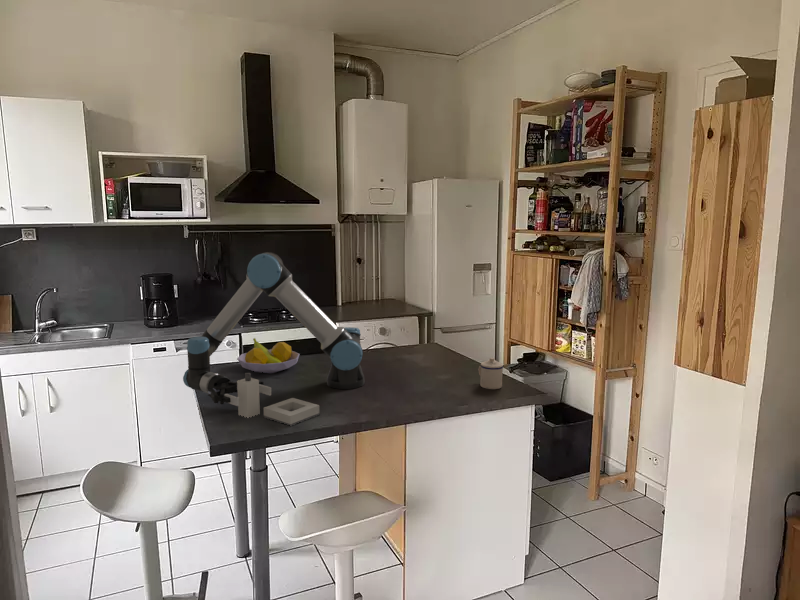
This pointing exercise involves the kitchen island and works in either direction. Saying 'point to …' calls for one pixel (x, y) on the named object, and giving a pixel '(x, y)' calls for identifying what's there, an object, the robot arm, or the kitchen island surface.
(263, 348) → the fruit bowl
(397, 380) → the kitchen island surface
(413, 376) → the kitchen island surface
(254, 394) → the plug
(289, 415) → the socket
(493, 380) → the teacup with lid
